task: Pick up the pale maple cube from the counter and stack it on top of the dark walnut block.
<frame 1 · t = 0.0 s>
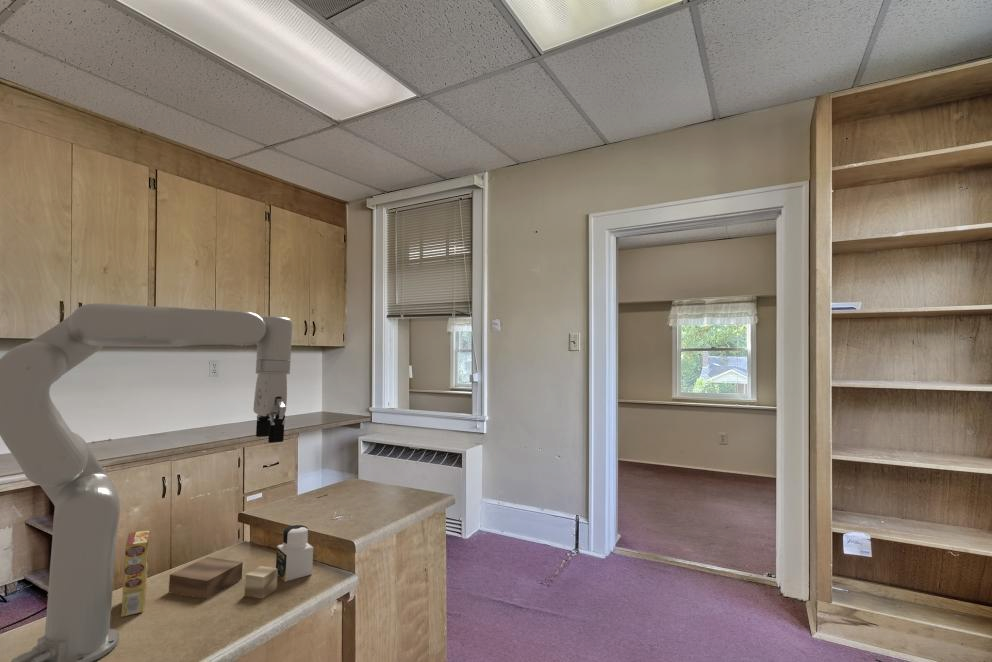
hand: (269, 439, 116), 37 cm above the counter, tool pointing down, fingers open, 9 cm apart
medicine bottle: (293, 574, 128), on the counter
walnut block: (206, 586, 120), on the counter
maple cube: (260, 592, 117), on the counter
candy box: (133, 607, 109), on the counter
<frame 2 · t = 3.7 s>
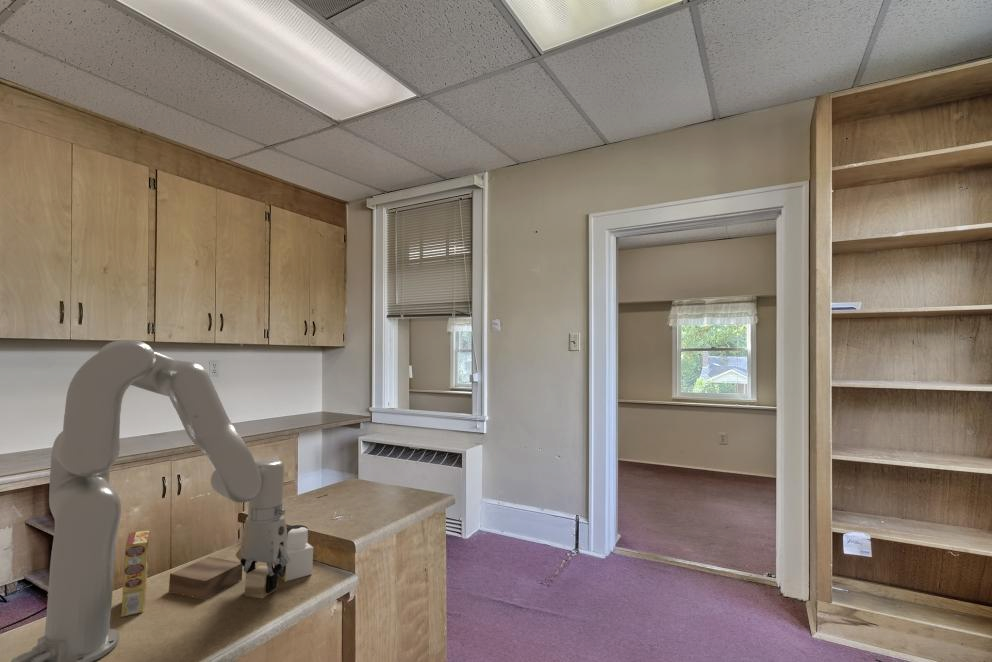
hand: (261, 587, 117), 1 cm above the counter, tool pointing down, fingers closed on maple cube, 5 cm apart
maple cube: (260, 592, 117), on the counter, touching gripper
everything else where it was.
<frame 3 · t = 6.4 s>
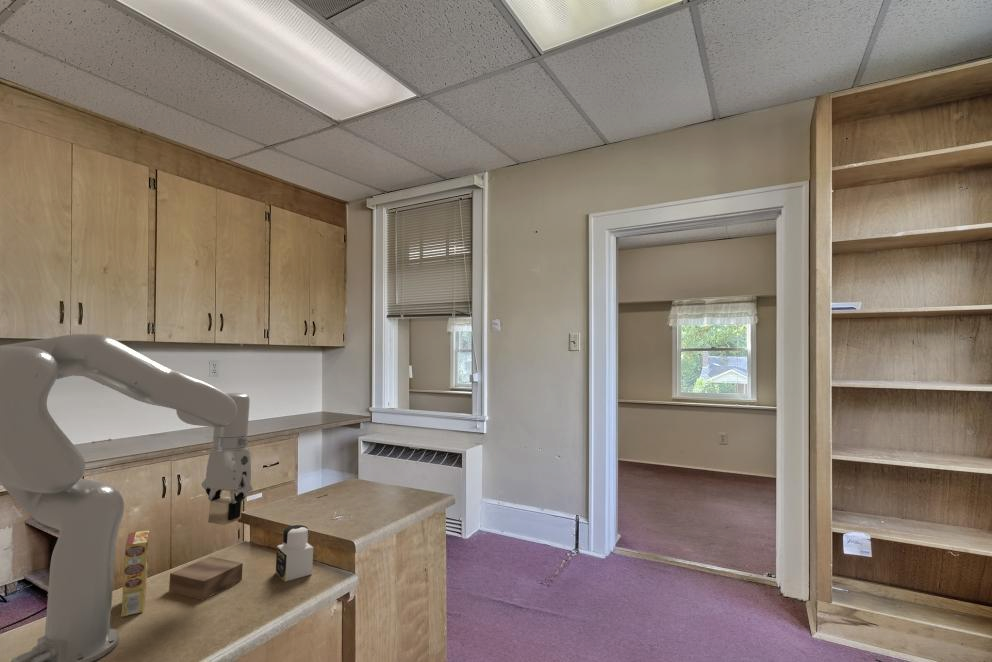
hand: (224, 516, 120), 17 cm above the counter, tool pointing down, fingers closed on maple cube, 5 cm apart
maple cube: (224, 520, 120), point 16 cm above the counter, touching gripper
everything else where it was.
when the fingers open (7 cm above the counter, at t = 9.1 s): maple cube drops 2 cm, resting on walnut block.
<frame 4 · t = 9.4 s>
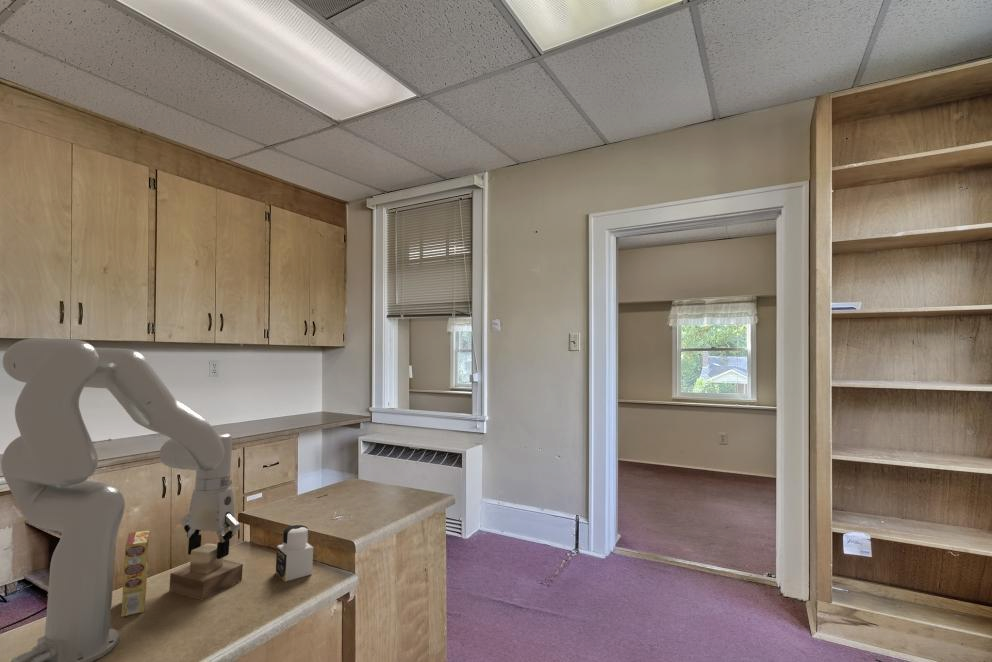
hand: (208, 554, 120), 7 cm above the counter, tool pointing down, fingers open, 8 cm apart
walnut block: (206, 587, 120), on the counter, touching maple cube
maple cube: (206, 568, 120), point 4 cm above the counter, touching walnut block
everything else where it was.
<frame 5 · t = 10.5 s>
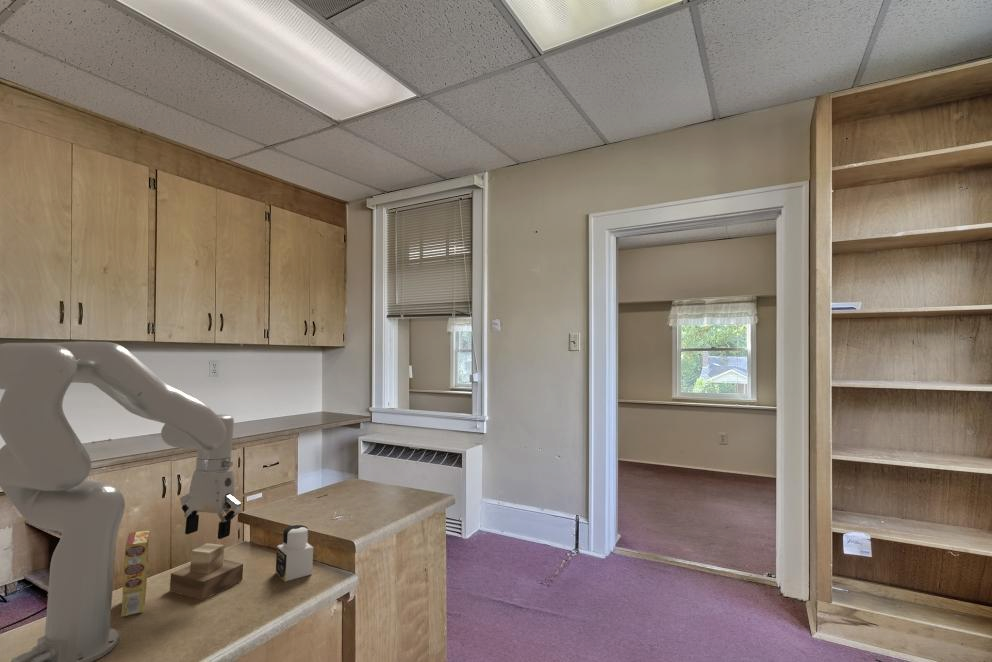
hand: (207, 534, 120), 12 cm above the counter, tool pointing down, fingers open, 9 cm apart
nothing on the counter moved.
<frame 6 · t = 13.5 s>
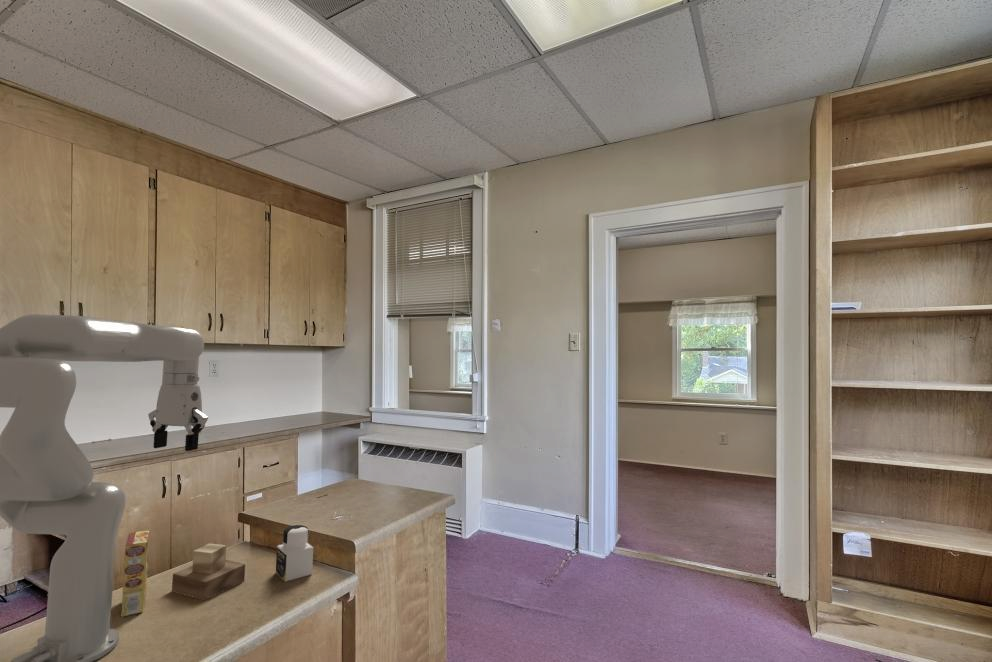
hand: (175, 448, 121), 33 cm above the counter, tool pointing down, fingers open, 9 cm apart
nothing on the counter moved.
at the end: maple cube 0.3 cm off-centre on the walnut block, point 4.5 cm above the walnut block's base; maple cube tilted 0°; the gripper is holding nothing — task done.
